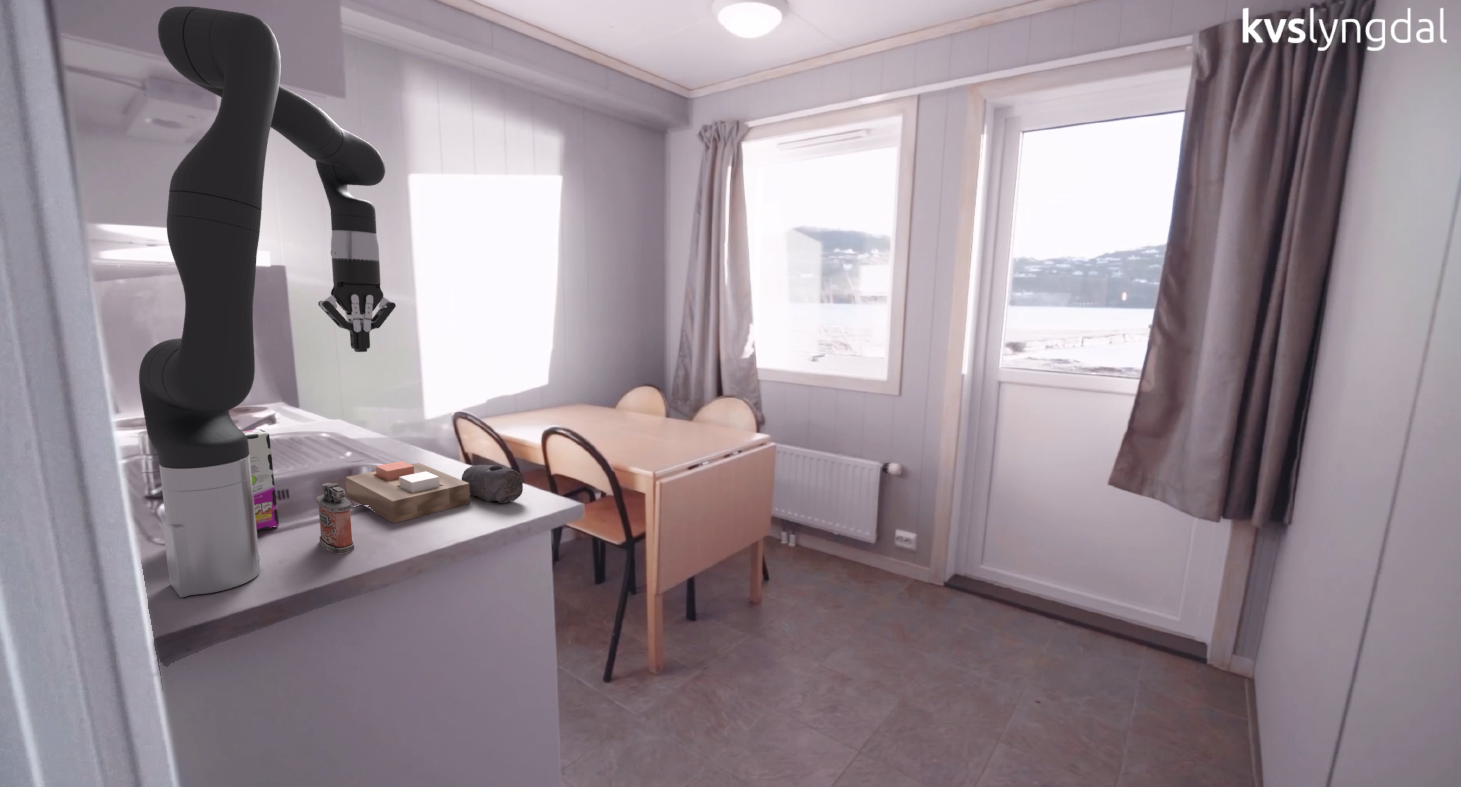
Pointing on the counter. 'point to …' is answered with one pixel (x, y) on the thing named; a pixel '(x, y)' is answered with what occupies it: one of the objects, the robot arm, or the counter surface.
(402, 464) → the salmon pink block
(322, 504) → the lighter
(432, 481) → the key white
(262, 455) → the candy bar box
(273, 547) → the counter surface
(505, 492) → the perforated stone tool
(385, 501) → the frame
